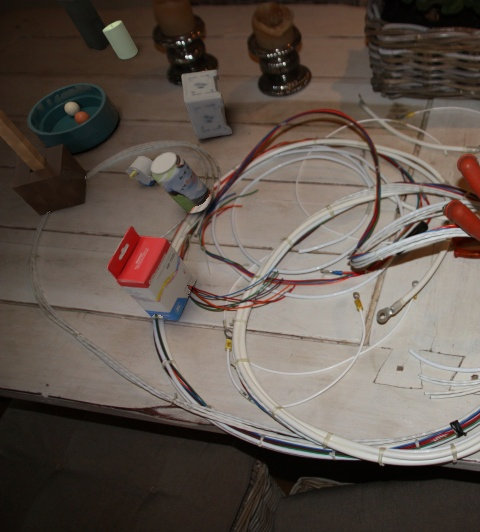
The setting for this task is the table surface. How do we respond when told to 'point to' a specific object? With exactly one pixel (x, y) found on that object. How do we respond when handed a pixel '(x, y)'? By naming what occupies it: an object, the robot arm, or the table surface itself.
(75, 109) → the cream ball
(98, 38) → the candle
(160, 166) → the beverage can
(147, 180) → the electric motor
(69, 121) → the bowl
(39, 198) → the holder
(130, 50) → the candle
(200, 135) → the white printed box
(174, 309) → the ink box
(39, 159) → the stirring stick
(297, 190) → the table surface
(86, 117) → the terracotta ball
